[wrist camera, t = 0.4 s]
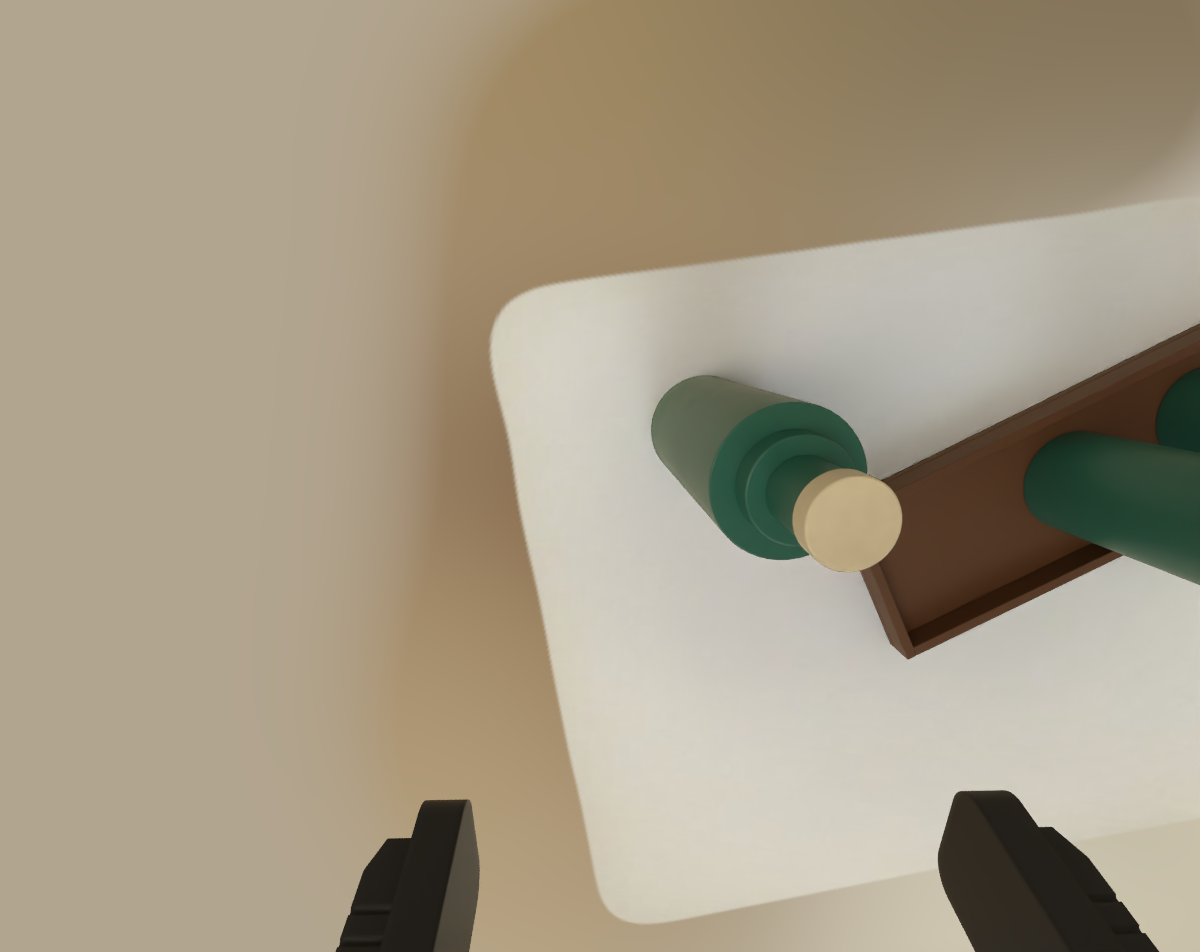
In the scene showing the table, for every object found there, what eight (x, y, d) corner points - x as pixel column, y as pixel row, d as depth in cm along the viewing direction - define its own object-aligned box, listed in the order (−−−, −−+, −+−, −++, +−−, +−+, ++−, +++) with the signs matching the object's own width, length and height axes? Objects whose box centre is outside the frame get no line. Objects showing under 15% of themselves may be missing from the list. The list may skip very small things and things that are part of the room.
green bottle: (672, 361, 34) (800, 393, 17) (769, 395, 35) (988, 459, 18) (636, 461, 36) (722, 590, 18) (732, 492, 36) (902, 642, 19)
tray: (890, 643, 40) (907, 660, 38) (832, 504, 37) (848, 514, 35) (1285, 452, 39) (1324, 458, 37) (1252, 297, 36) (1292, 295, 34)
